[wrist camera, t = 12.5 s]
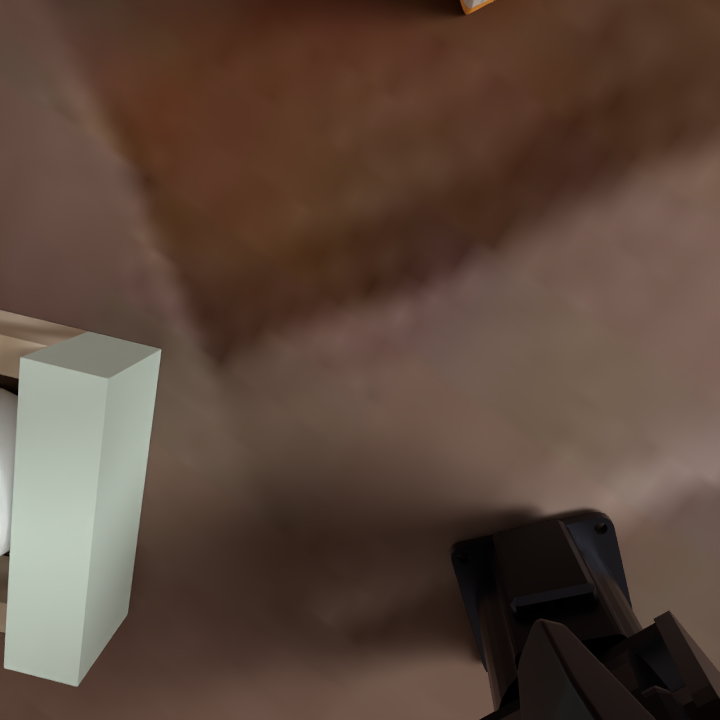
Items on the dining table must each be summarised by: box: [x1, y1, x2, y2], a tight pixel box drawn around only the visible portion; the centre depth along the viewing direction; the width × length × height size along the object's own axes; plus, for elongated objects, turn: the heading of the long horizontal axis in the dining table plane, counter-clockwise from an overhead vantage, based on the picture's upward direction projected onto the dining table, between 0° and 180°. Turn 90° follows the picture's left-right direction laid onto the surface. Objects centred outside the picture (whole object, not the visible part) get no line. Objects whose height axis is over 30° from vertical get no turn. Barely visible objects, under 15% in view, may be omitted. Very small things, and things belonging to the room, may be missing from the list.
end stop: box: [4, 332, 162, 687], centre depth 21 cm, size 3×13×4 cm, turn 167°
